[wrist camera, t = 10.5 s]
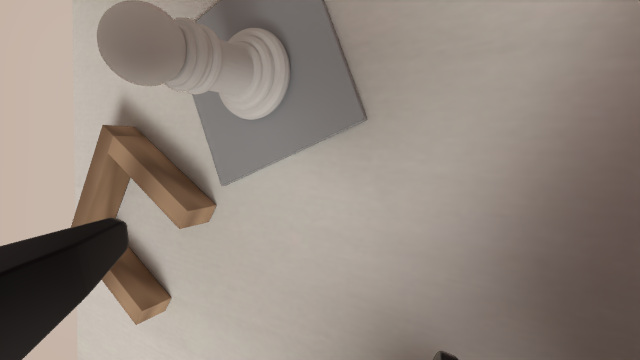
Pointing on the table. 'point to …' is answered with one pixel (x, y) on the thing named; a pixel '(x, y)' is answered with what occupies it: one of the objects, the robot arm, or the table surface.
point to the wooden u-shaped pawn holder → (160, 185)
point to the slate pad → (301, 96)
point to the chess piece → (195, 58)
